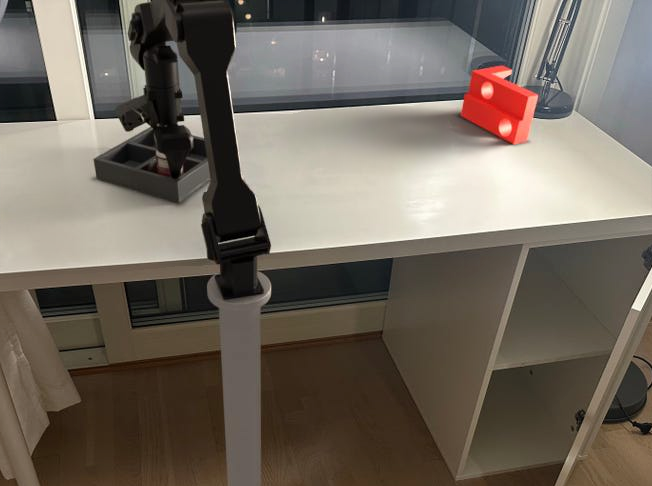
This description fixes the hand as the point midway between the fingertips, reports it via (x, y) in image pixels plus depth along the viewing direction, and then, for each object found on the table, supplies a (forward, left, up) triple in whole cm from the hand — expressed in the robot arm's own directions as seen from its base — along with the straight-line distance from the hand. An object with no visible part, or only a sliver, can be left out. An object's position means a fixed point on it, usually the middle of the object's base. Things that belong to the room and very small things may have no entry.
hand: (170, 167), depth 132 cm
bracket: (+11, -79, -4) cm, 80 cm away
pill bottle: (0, 0, -3) cm, 3 cm away
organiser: (+6, 0, -4) cm, 7 cm away
